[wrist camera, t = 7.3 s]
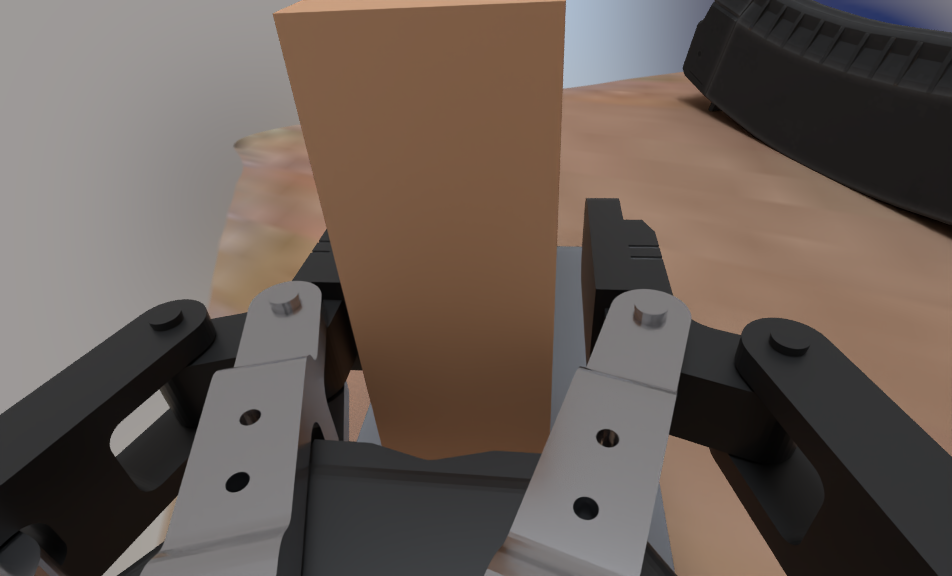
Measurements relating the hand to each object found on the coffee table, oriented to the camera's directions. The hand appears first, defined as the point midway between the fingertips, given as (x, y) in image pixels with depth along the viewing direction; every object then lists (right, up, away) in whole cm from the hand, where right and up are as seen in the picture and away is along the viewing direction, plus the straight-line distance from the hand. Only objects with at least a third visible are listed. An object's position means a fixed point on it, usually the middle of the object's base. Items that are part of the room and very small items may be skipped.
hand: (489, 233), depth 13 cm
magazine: (+24, +8, +26) cm, 36 cm away
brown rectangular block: (0, -7, +4) cm, 8 cm away
